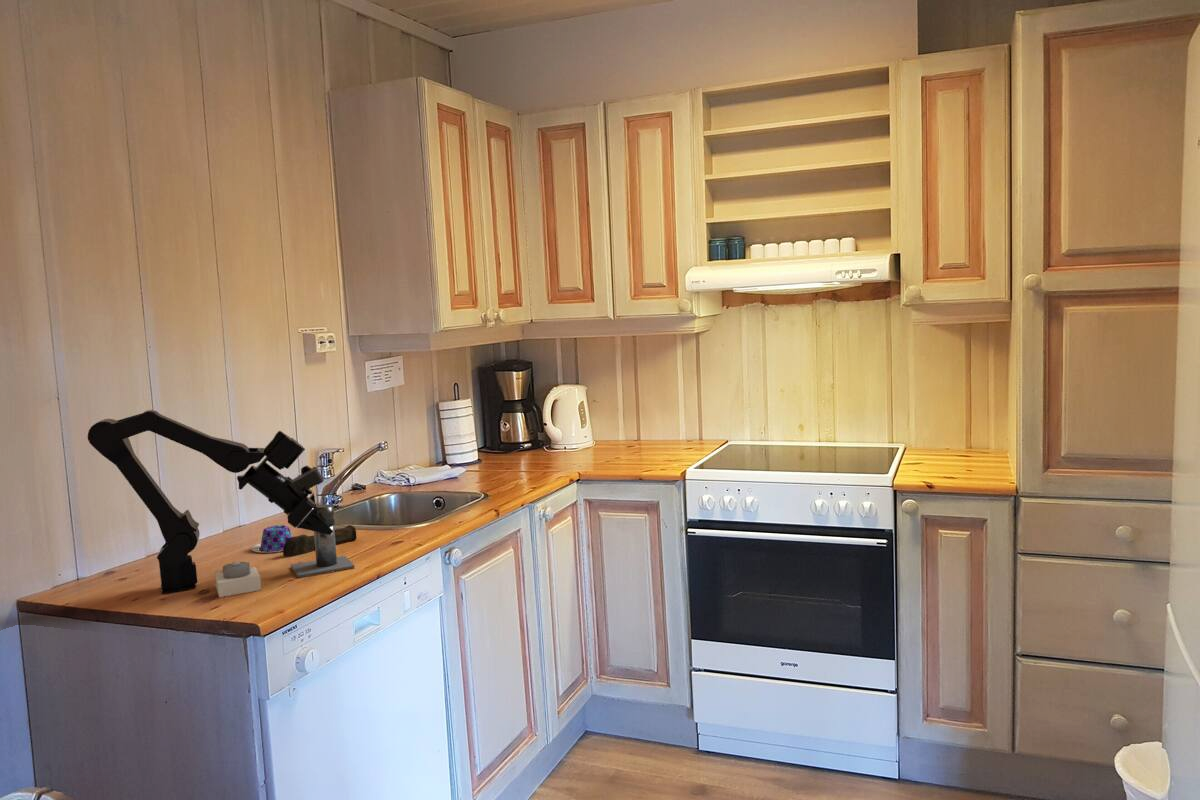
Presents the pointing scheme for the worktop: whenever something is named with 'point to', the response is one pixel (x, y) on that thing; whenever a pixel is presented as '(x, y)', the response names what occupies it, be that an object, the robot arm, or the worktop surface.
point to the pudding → (273, 539)
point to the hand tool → (307, 543)
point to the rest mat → (312, 569)
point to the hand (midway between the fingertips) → (330, 528)
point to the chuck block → (237, 579)
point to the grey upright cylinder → (325, 539)
